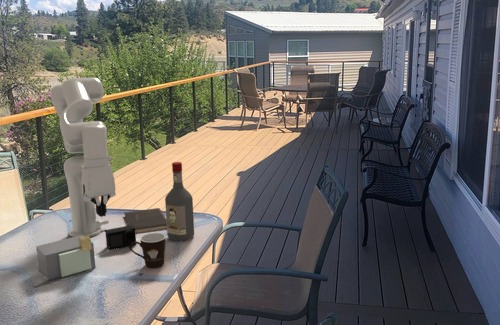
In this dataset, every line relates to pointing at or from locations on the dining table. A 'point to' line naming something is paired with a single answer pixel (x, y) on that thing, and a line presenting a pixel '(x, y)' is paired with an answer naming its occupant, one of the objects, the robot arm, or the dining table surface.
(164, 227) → the hardcover book
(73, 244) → the box
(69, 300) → the dining table surface
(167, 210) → the liquor
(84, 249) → the side door
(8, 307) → the dining table surface
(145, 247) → the coffee mug
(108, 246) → the digital camera
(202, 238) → the dining table surface
